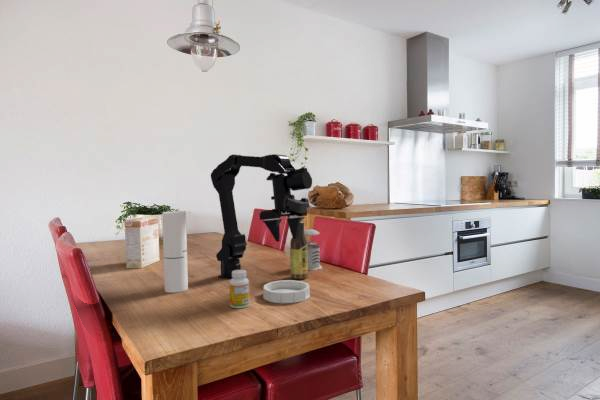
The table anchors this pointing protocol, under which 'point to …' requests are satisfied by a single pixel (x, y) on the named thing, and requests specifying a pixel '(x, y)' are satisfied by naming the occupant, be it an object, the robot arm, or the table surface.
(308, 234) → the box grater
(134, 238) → the coffeecake box
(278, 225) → the robot arm
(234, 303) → the supplement bottle
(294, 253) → the sauce bottle
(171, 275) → the cylindrical container
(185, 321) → the table surface
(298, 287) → the dish
